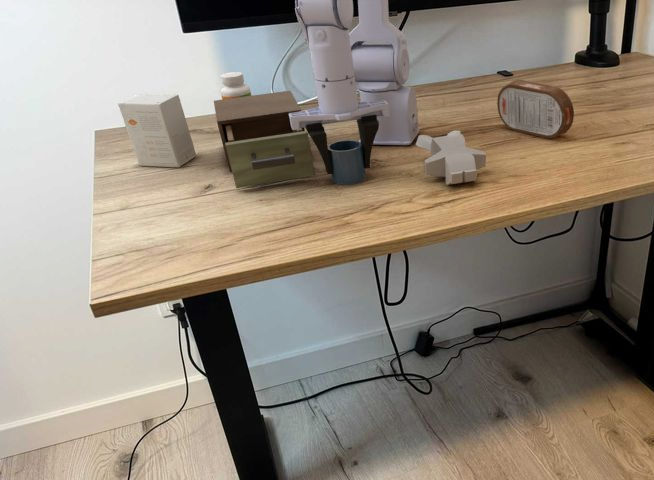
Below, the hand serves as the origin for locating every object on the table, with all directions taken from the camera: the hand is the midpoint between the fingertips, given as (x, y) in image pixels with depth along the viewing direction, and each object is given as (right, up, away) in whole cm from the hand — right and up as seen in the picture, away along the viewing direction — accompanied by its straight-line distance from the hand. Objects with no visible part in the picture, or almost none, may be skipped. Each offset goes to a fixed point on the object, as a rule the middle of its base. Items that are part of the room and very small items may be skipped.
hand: (347, 169), depth 101 cm
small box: (-33, +4, +11) cm, 35 cm away
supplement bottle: (-24, +15, +26) cm, 38 cm away
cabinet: (-16, +6, +12) cm, 21 cm away
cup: (0, -1, +1) cm, 2 cm away
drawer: (-12, 0, +2) cm, 12 cm away
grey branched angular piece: (+16, 0, +1) cm, 16 cm away
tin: (+31, +10, +14) cm, 35 cm away
